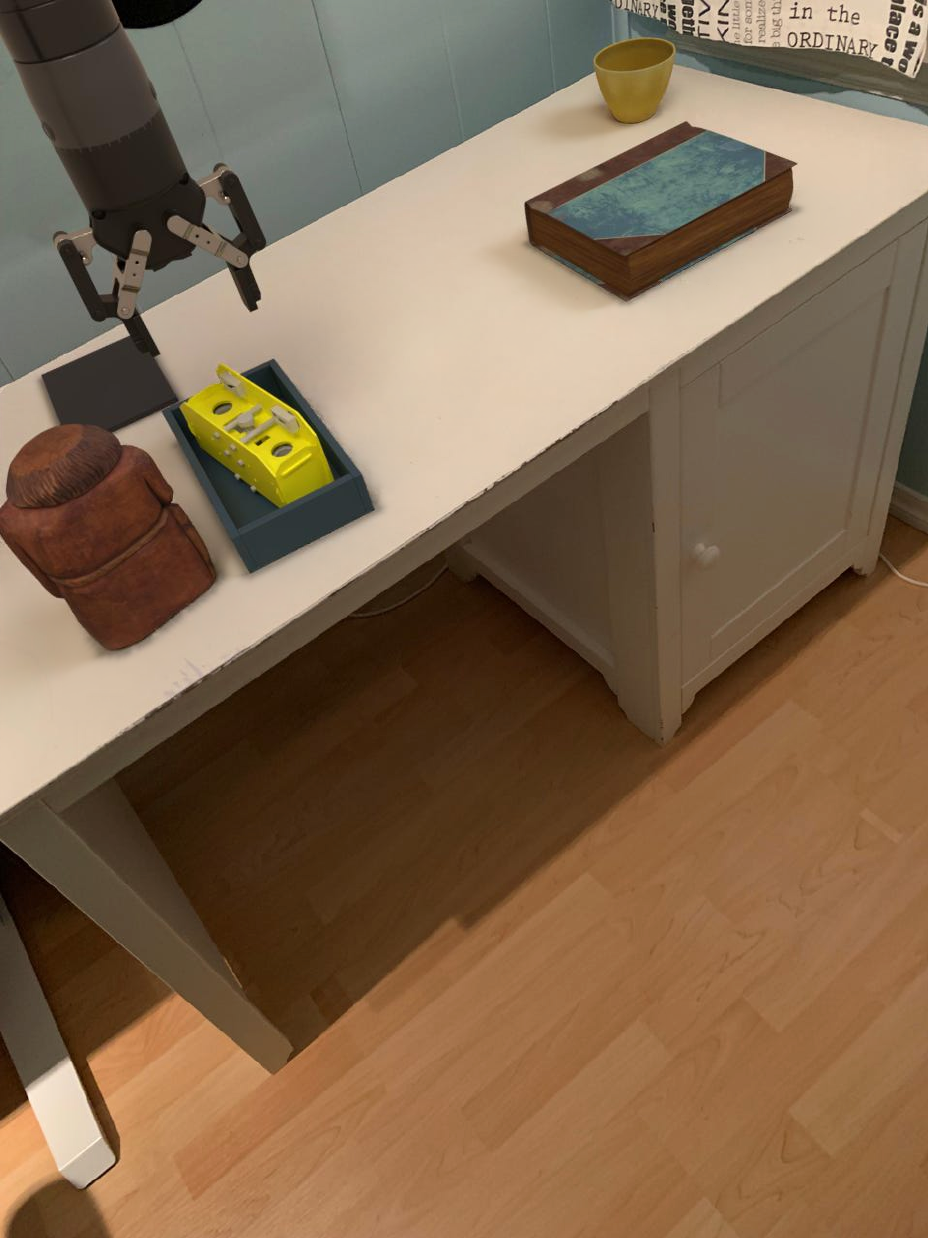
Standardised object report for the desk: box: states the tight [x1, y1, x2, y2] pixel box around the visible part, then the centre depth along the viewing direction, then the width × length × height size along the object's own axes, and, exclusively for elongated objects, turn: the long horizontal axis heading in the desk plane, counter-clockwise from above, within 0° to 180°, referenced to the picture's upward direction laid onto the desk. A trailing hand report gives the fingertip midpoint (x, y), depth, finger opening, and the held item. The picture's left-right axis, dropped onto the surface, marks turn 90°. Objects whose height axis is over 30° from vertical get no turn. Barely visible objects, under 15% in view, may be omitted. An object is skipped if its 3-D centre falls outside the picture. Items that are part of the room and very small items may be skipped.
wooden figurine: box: [0, 424, 217, 650], centre depth 67 cm, size 12×6×18 cm, turn 134°
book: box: [523, 120, 799, 302], centre depth 95 cm, size 23×18×5 cm
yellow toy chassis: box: [180, 362, 335, 508], centre depth 79 cm, size 16×6×8 cm, turn 43°
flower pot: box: [592, 37, 676, 124], centre depth 112 cm, size 10×10×7 cm
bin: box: [160, 358, 375, 574], centre depth 81 cm, size 12×22×4 cm, turn 29°
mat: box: [41, 335, 179, 433], centre depth 96 cm, size 12×16×1 cm
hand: (203, 329), depth 70 cm, fingers open, 8 cm apart
